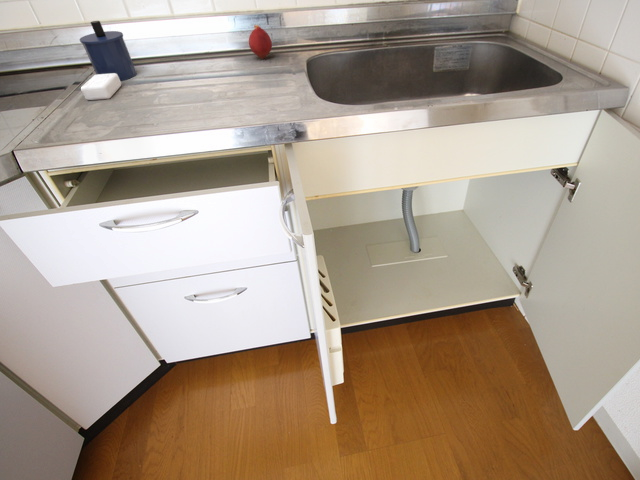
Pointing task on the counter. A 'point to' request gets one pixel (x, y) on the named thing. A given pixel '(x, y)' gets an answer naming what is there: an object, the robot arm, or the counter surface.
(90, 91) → the soap
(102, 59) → the pot
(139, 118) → the counter surface
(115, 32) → the pot lid
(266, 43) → the onion
